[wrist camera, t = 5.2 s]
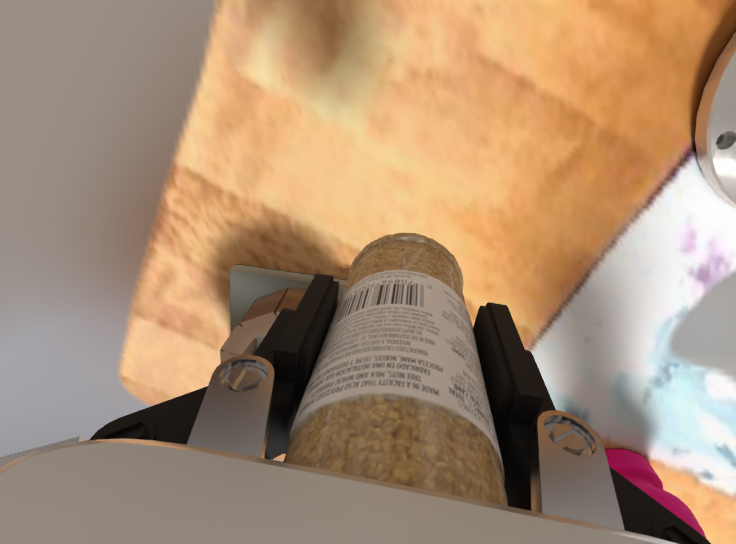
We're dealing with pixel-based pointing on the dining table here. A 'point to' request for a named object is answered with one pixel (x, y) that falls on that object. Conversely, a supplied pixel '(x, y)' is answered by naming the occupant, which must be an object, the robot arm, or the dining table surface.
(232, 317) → the collar
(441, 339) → the sprinkles bottle
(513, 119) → the dining table surface
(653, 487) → the pepper mill
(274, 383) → the robot arm
